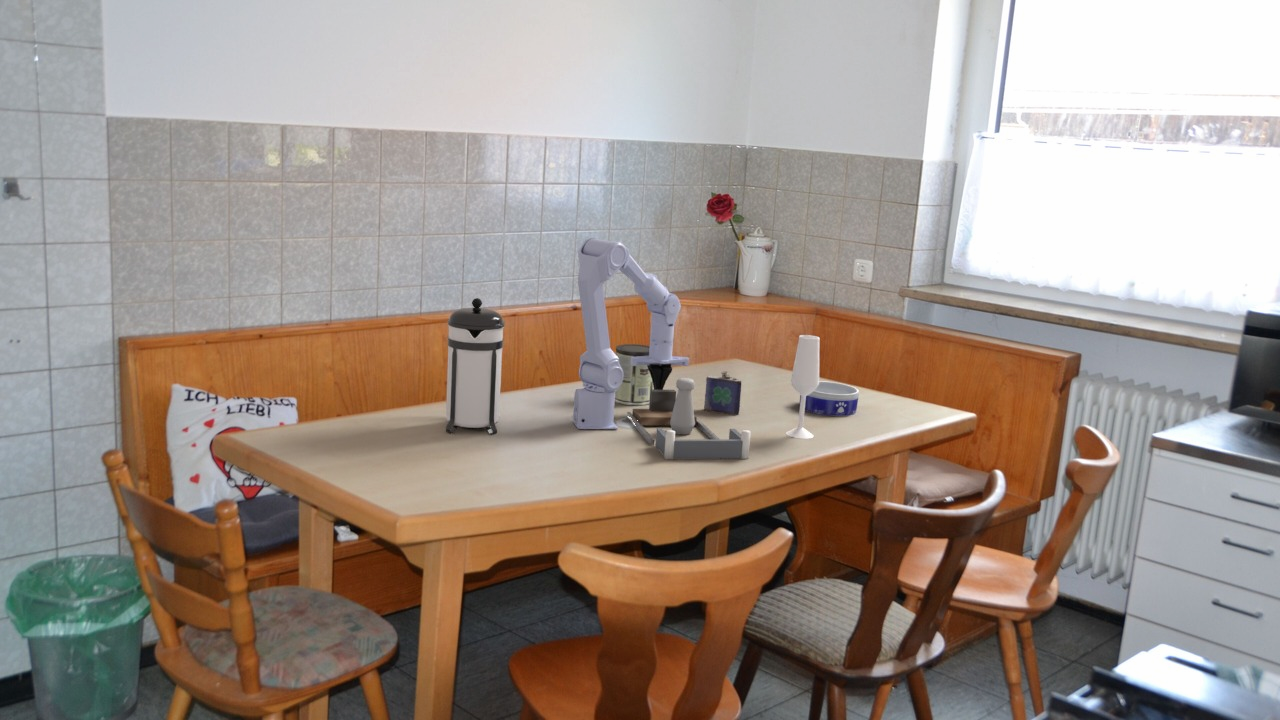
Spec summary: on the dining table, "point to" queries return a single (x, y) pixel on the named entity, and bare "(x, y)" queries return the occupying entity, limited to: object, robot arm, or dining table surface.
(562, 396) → the dining table surface
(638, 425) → the rails
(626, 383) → the coffee can
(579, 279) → the robot arm
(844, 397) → the dog bowl
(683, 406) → the salt shaker
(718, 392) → the flask
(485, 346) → the coffee press
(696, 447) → the frame
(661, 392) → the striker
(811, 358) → the champagne flute
